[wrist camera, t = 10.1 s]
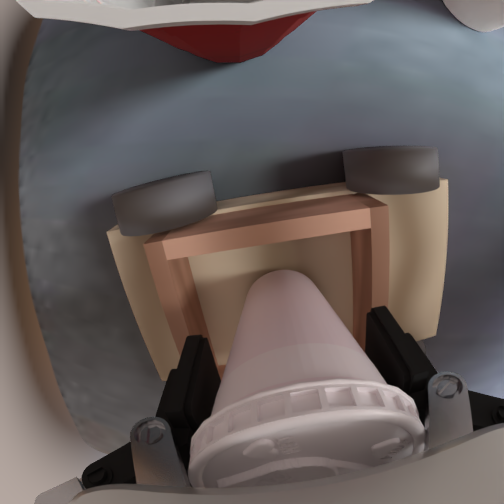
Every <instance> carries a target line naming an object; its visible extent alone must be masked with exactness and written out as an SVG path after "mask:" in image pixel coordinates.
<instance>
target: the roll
mask: <svg viewBox="0 0 504 504" xmlns="http://www.w3.org/2000/svg"><path fill="white" fill-rule="evenodd" d="M443 2H444V4H445V5H446V7H447V8H448V9H449V11H450V12H451V13H452V14H453V15H454V16H455V17H456V18H457V19H458V20H459V21H461V22H462V23H463V24H465V25H466V26H468V27H470V28H472V29H474V30H477V31H479V32H489V31H492V30H495V29H498V28H501V27H504V0H443Z"/></svg>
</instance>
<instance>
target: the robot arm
mask: <svg viewBox="0 0 504 504" xmlns="http://www.w3.org/2000/svg"><path fill="white" fill-rule="evenodd" d="M365 353H366V355H367V356H368V358H369V359H370V360H371V362H372V363H373V364H374V365H375V367H376V368H377V370H378V371H379V373H380V374H381V376H382V377H383V379H384V380H385V382H386V383H387V384H388V385H392V386H395V387H398V388H399V389H401V390H402V391H403V392H405V393H406V394H407V395H408V396H410V397H411V398H412V399H413V400H414V402H415V405H416V407H417V410H418V412H419V419H420V421H421V423H422V424H423V426H424V428H425V430H426V437H425V440H424V451H423V452H420V453H417V454H415V455H412V456H409V457H406V458H403V459H400V460H396V461H393V462H390V463H386V464H383V465H379V466H376V467H372V468H368V469H364V470H360V471H356V472H352V473H347V474H343V475H338V476H333V477H328V478H322V479H316V480H310V481H303V482H296V483H288V484H279V485H268V486H255V487H234V488H199V487H192V485H191V483H190V481H189V478H188V468H189V462H190V446H191V439H192V436H193V435H194V434H195V432H196V431H197V430H198V428H199V427H200V425H201V424H202V423H203V421H205V420H206V419H207V418H209V417H210V416H211V413H212V410H213V406H214V402H215V399H216V395H217V392H218V390H219V387H220V384H221V379H220V376H219V373H218V370H217V367H216V363H215V360H214V357H213V354H212V351H211V347H210V344H209V341H208V338H203V336H202V335H201V334H200V335H190V336H187V337H186V340H185V343H184V347H183V350H182V353H181V356H180V360H179V363H178V366H177V369H171V370H170V372H169V375H168V378H167V381H166V385H165V388H164V391H163V394H162V397H161V400H160V404H159V407H158V410H157V413H156V416H155V417H147V418H145V419H142V420H140V421H139V422H137V423H136V424H135V425H134V426H133V428H132V430H131V432H130V441H131V442H129V443H127V444H126V445H124V446H122V447H121V448H119V449H117V450H115V451H114V452H112V453H110V454H108V455H106V456H105V457H103V458H101V459H100V460H97V461H96V462H94V463H92V464H90V465H89V466H88V467H87V468H86V469H85V470H84V472H83V474H82V478H80V479H78V478H77V477H76V478H73V479H71V480H69V481H67V482H65V483H63V484H61V485H59V486H56V487H54V488H52V489H50V490H48V491H46V492H43V493H41V494H40V495H39V496H38V497H37V498H36V500H35V504H504V399H501V398H497V397H493V396H489V395H485V394H481V393H477V392H473V391H469V390H468V389H467V384H466V381H465V380H464V379H463V377H462V376H460V375H459V374H457V373H454V372H440V373H437V372H436V370H435V369H434V367H433V366H432V364H431V363H430V361H429V360H428V358H427V357H426V355H425V354H424V352H423V351H422V349H421V348H420V346H419V345H418V344H417V342H416V341H415V339H414V338H413V336H412V335H411V334H410V333H404V331H403V330H402V328H401V327H400V325H399V324H398V323H397V321H396V320H395V318H394V317H393V315H392V314H391V313H390V311H389V310H388V308H387V307H386V306H385V305H384V306H379V307H374V308H371V310H370V312H368V313H367V314H366V339H365Z"/></svg>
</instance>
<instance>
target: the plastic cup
mask: <svg viewBox="0 0 504 504" xmlns="http://www.w3.org/2000/svg"><path fill="white" fill-rule="evenodd" d="M16 1H17V2H18V3H19V4H20V5H21V6H22V7H23V8H25V9H26V10H27V11H28V12H29V13H30V14H31V15H32V16H34V17H36V18H46V19H58V20H67V21H76V22H83V23H90V24H96V25H102V26H108V27H113V28H118V29H123V30H128V31H136V30H140V31H142V32H144V33H147V34H149V35H151V36H153V37H155V38H157V39H160V40H162V41H164V42H166V43H168V44H170V45H172V46H174V47H176V48H178V49H181V50H185V51H188V52H190V53H192V54H194V55H196V56H199V57H202V58H205V59H208V60H211V61H214V62H216V63H221V62H243V61H246V60H249V59H252V58H255V57H258V56H262V55H263V54H265V53H266V52H267V51H269V50H270V49H271V48H272V47H274V46H275V45H276V44H278V43H279V42H280V41H281V40H282V39H283V38H284V37H285V36H287V35H288V34H289V33H291V32H292V31H294V30H295V29H296V28H297V27H298V26H300V25H301V24H302V23H303V22H304V21H305V20H307V19H308V18H309V17H310V16H311V15H313V14H314V13H315V12H316V11H320V10H327V9H334V8H342V7H352V6H359V5H363V4H367V3H370V2H372V1H373V0H16Z"/></svg>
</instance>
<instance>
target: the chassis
mask: <svg viewBox="0 0 504 504" xmlns="http://www.w3.org/2000/svg"><path fill="white" fill-rule="evenodd" d="M342 153H343V161H344V170H345V179H346V182H341V183H333V184H326V185H318V186H311V187H303V188H296V189H289V190H283V191H276V192H270V193H263V194H257V195H251V196H245V197H239V198H233V199H227V200H222V201H216V198H215V193H214V188H213V182H212V177H211V172H210V171H200V172H194V173H188V174H183V175H178V176H173V177H169V178H165V179H161V180H157V181H153V182H149V183H145V184H142V185H139V186H135V187H132V188H129V189H126V190H123V191H120V192H118V193H115V194H113V195H112V196H111V198H112V202H113V206H114V210H115V214H116V218H117V222H118V224H117V225H116V226H115V227H113V228H112V229H110V230H109V231H107V235H108V239H109V242H110V246H111V249H112V252H113V256H114V259H115V262H116V265H117V268H118V271H119V274H120V277H121V280H122V283H123V286H124V289H125V292H126V295H127V297H128V300H129V303H130V306H131V308H132V311H133V314H134V316H135V319H136V321H137V324H138V326H139V329H140V331H141V334H142V336H143V339H144V341H145V344H146V346H147V348H148V351H149V353H150V355H151V358H152V360H153V362H154V365H155V367H156V369H157V371H158V373H159V376H160V378H161V380H162V381H167V378H168V375H169V372H170V370H171V369H177V366H178V363H179V360H180V356H181V353H182V350H183V347H184V343H185V340H186V337H187V336H190V335H200V334H201V335H202V336H203V338H208V341H209V344H210V347H211V351H212V354H213V357H214V360H215V363H216V367H217V370H218V373H219V376H220V379H221V380H222V377H223V374H224V370H225V367H226V364H227V360H228V357H229V354H230V350H231V347H232V344H233V340H234V337H235V334H236V330H237V327H238V324H239V320H240V317H241V314H242V310H243V307H244V303H245V300H246V297H247V294H248V291H249V289H250V288H251V286H252V285H253V284H254V282H255V281H256V280H258V279H259V278H260V277H262V276H263V275H265V274H267V273H270V272H273V271H277V270H293V271H297V272H300V273H302V274H304V275H305V276H307V277H308V278H309V279H311V280H312V281H313V283H314V284H315V285H316V287H317V288H318V289H319V291H320V292H321V293H322V295H323V296H324V297H325V299H326V300H327V301H328V303H329V304H330V306H331V307H332V308H333V310H334V311H335V312H336V314H337V315H338V316H339V318H340V319H341V320H342V322H343V323H344V325H345V326H346V327H347V329H348V330H349V331H350V333H351V334H352V335H353V337H354V338H355V340H356V341H357V342H358V344H359V345H360V347H361V348H362V349H363V351H364V352H365V339H366V314H367V313H368V312H370V310H371V308H374V307H379V306H384V305H385V306H386V307H387V308H388V310H389V311H390V313H391V314H392V315H393V317H394V318H395V320H396V321H397V323H398V324H399V325H400V327H401V328H402V330H403V331H404V333H410V334H411V335H412V336H413V338H414V339H415V341H416V342H417V344H418V345H419V346H420V348H421V349H422V351H423V352H424V354H425V353H426V348H425V344H424V342H423V339H426V338H429V337H433V336H436V332H437V326H438V321H439V315H440V308H441V301H442V294H443V286H444V277H445V267H446V255H447V239H448V180H447V179H443V178H440V177H439V161H438V148H436V147H429V146H379V147H366V148H356V149H349V150H344V151H342Z"/></svg>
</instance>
